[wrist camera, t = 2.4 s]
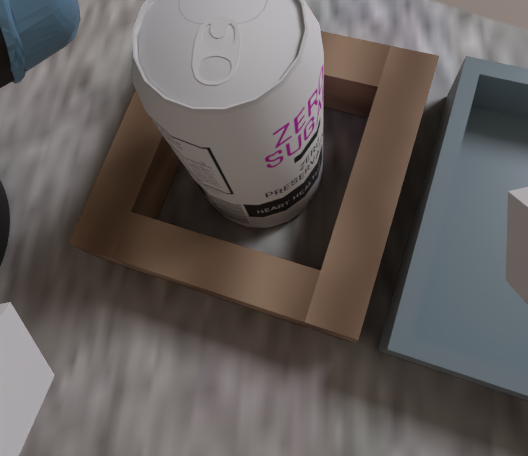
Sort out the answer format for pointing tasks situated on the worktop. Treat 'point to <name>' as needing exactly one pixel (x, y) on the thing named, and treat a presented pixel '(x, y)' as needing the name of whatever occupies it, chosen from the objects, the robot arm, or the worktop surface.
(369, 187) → the can holder
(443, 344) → the tray
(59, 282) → the worktop surface
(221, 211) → the white soda can
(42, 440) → the worktop surface
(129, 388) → the worktop surface
